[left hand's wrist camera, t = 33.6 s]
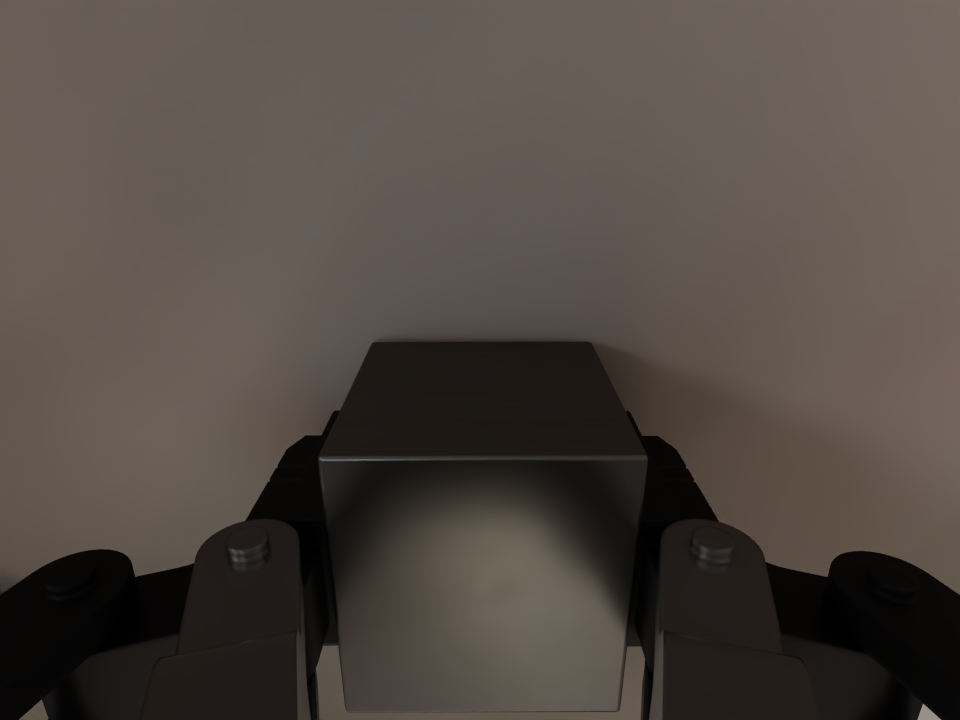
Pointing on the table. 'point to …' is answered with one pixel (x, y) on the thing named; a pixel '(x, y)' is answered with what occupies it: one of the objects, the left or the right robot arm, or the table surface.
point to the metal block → (482, 529)
